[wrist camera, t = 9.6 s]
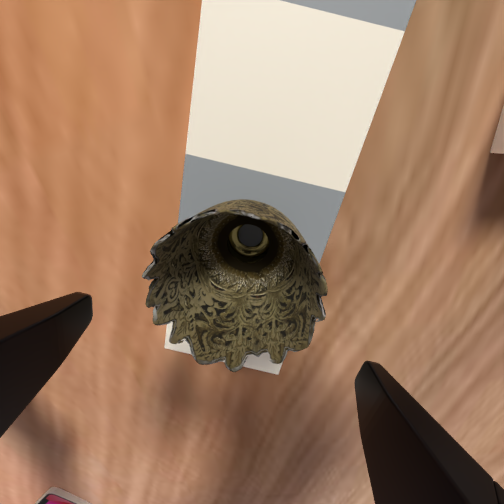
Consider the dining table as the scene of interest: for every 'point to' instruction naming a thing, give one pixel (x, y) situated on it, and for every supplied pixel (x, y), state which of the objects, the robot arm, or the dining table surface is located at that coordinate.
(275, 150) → the game board
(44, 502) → the smartphone
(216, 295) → the olive ornate pot
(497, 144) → the die
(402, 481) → the robot arm
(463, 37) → the dining table surface
